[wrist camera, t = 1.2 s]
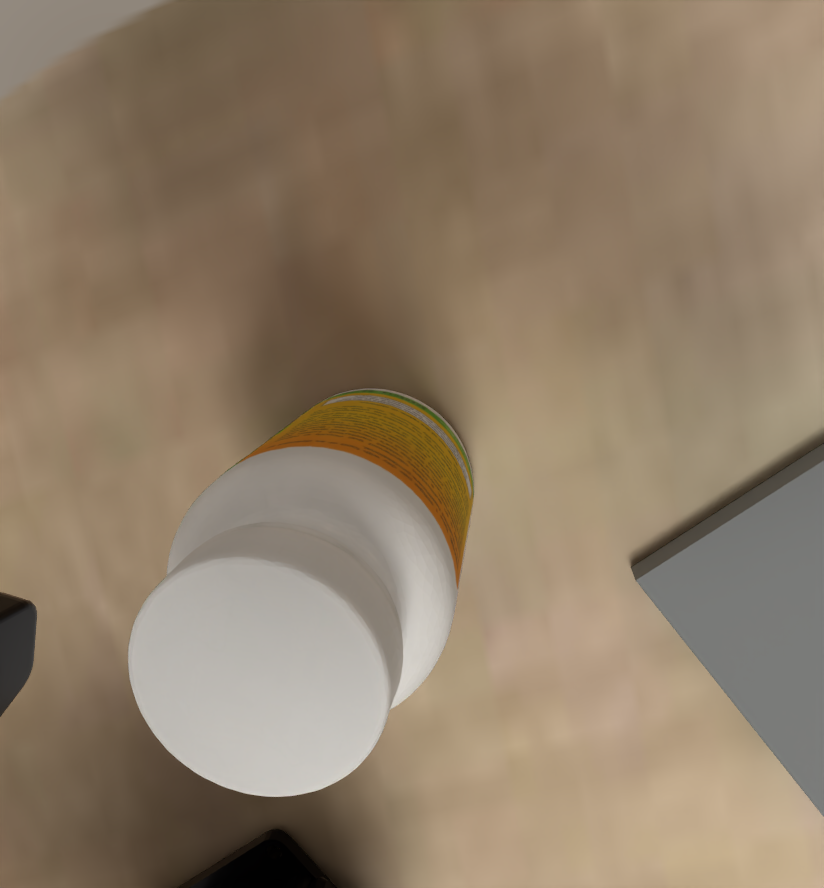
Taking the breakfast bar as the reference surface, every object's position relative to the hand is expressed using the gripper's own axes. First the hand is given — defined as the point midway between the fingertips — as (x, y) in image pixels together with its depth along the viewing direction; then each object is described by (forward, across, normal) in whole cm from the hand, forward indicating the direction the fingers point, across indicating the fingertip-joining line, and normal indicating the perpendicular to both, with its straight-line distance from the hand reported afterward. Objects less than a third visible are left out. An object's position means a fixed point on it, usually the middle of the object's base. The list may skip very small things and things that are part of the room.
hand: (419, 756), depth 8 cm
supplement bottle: (+12, +2, +2) cm, 12 cm away
